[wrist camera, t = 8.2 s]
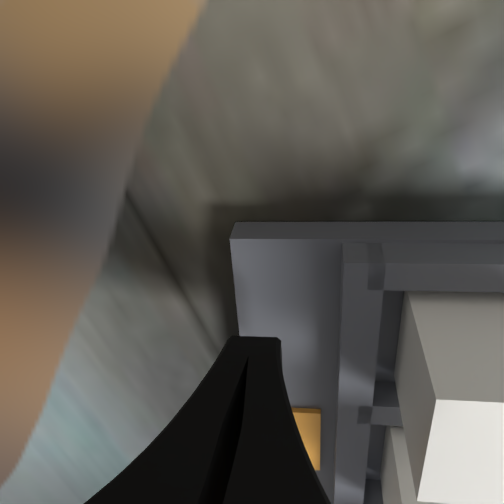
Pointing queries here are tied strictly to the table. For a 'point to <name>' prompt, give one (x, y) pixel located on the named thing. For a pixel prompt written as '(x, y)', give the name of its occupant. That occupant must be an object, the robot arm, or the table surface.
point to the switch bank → (350, 323)
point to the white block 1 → (397, 469)
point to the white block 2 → (453, 394)
